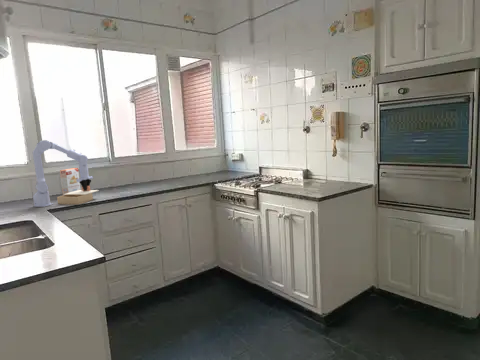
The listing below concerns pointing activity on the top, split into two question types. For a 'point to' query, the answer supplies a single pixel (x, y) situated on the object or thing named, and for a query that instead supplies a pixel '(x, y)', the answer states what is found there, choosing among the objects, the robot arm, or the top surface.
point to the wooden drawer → (74, 199)
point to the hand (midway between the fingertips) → (86, 190)
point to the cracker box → (69, 180)
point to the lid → (82, 191)
